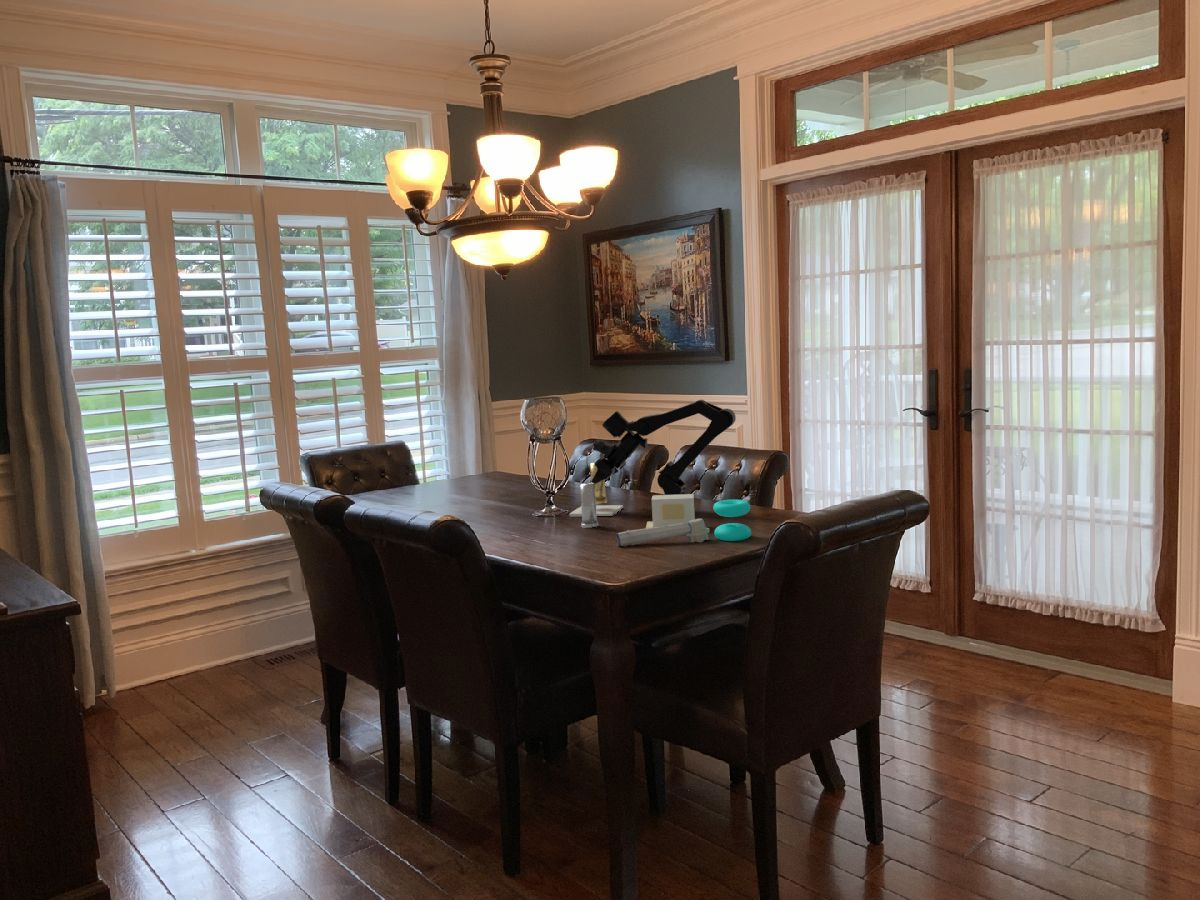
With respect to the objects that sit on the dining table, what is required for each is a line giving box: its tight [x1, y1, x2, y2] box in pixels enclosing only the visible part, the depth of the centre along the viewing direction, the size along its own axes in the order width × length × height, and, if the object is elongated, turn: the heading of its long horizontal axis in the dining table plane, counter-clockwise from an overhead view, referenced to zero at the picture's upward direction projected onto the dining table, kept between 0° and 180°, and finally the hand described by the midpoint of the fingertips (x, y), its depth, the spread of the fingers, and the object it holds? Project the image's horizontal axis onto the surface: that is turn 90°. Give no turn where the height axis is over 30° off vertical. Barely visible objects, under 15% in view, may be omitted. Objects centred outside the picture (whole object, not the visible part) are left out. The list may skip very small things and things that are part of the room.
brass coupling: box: [589, 461, 608, 505], centre depth 307 cm, size 5×5×13 cm
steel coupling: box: [579, 482, 599, 529], centre depth 285 cm, size 5×5×13 cm
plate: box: [568, 504, 624, 518], centre depth 308 cm, size 14×14×1 cm
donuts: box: [712, 499, 752, 542], centre depth 260 cm, size 10×10×10 cm
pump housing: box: [645, 493, 696, 528], centre depth 278 cm, size 12×16×9 cm
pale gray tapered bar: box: [615, 518, 710, 547], centre depth 258 cm, size 5×7×25 cm
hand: (593, 482), depth 307 cm, fingers closed on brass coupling, 4 cm apart
